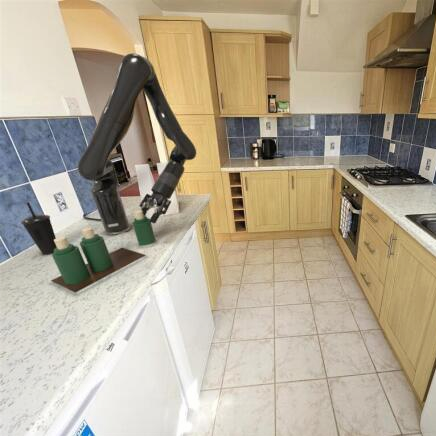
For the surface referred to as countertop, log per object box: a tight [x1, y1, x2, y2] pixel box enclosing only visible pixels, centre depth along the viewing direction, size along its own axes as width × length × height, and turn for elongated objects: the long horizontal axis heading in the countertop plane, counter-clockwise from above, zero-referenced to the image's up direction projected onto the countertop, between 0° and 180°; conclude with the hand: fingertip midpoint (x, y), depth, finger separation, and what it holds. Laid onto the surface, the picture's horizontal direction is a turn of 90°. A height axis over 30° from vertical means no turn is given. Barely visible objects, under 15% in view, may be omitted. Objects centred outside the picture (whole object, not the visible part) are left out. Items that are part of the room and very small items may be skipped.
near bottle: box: [51, 236, 90, 285], centre depth 73 cm, size 6×6×14 cm
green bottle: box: [131, 209, 157, 247], centre depth 94 cm, size 6×6×14 cm
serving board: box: [50, 247, 146, 294], centre depth 81 cm, size 14×22×1 cm, turn 155°
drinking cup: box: [20, 202, 57, 255], centre depth 90 cm, size 8×8×20 cm
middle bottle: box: [79, 226, 113, 272], centre depth 78 cm, size 6×6×14 cm
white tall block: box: [134, 161, 180, 219], centre depth 128 cm, size 19×15×25 cm
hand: (145, 220), depth 95 cm, fingers open, 8 cm apart
